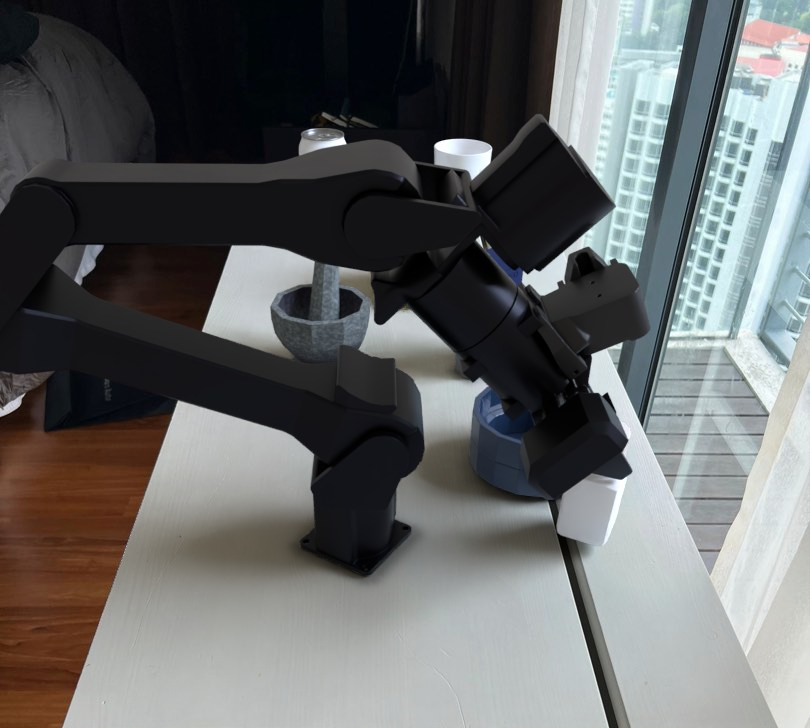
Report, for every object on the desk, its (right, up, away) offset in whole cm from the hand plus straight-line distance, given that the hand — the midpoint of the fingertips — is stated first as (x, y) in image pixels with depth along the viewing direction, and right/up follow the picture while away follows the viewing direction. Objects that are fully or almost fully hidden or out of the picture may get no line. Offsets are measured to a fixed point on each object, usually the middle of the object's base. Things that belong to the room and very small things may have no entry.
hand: (620, 459), depth 61 cm
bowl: (-5, +1, +13) cm, 13 cm away
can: (-27, +38, +56) cm, 73 cm away
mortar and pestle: (-24, +12, +26) cm, 38 cm away
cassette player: (-7, +12, +27) cm, 30 cm away
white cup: (-8, +40, +59) cm, 72 cm away
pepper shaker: (-2, -5, +5) cm, 7 cm away
